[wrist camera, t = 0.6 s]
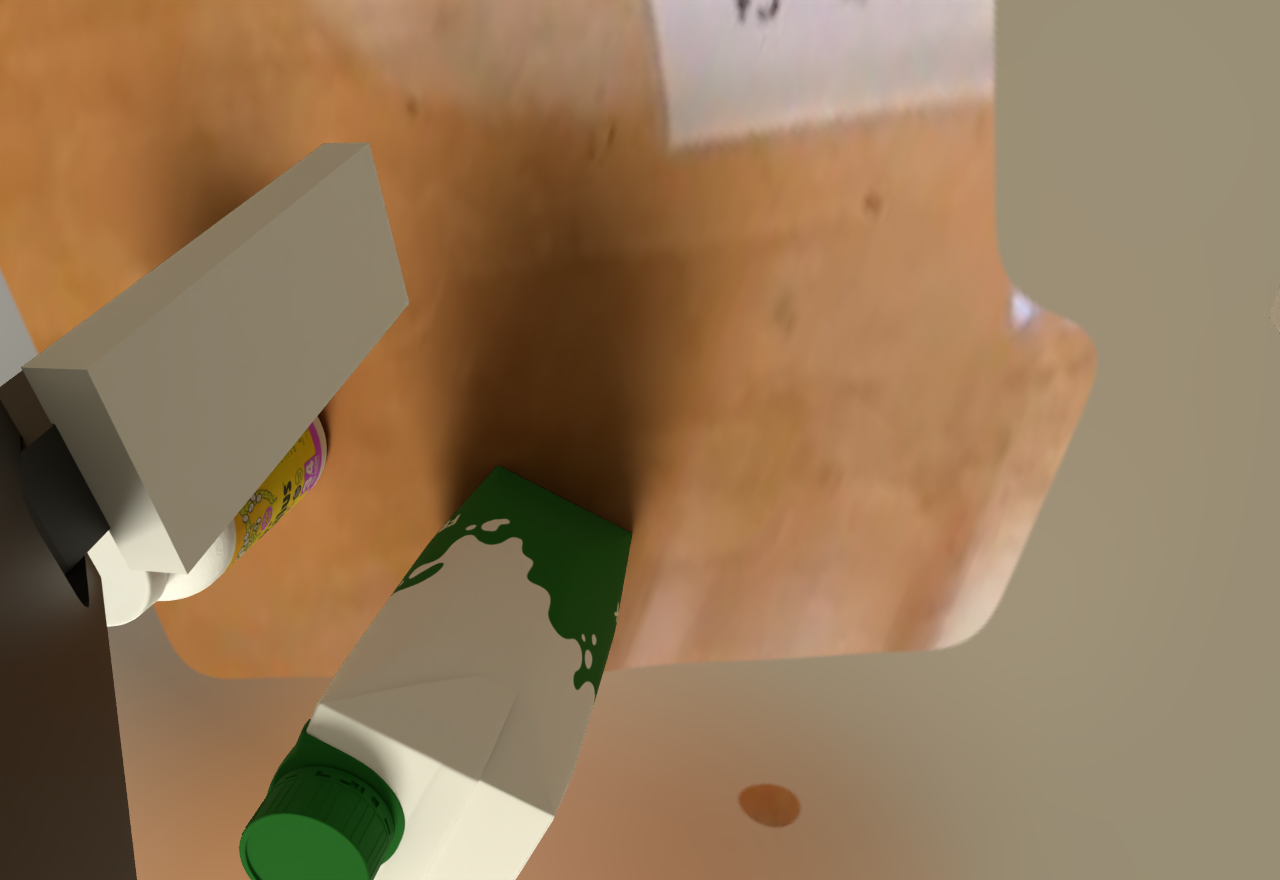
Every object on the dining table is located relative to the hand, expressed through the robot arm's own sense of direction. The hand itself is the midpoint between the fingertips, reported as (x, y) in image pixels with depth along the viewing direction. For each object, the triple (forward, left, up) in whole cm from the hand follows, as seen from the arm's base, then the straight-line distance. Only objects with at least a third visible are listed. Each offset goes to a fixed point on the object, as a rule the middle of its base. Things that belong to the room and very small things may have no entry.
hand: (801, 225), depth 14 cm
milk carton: (+15, -18, -25) cm, 34 cm away
